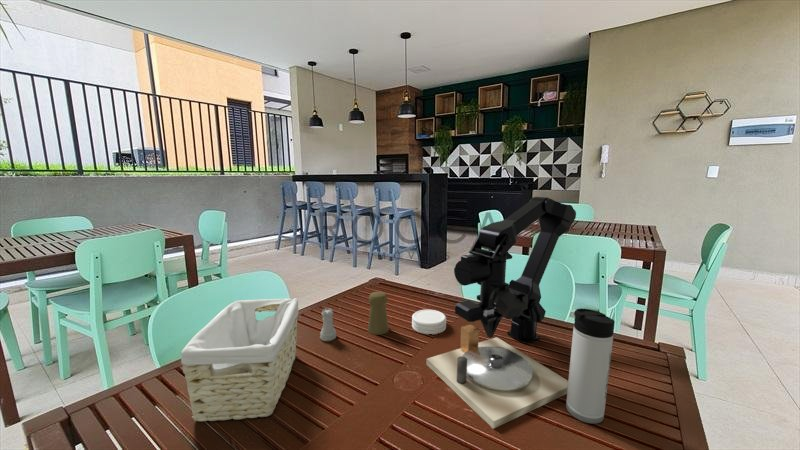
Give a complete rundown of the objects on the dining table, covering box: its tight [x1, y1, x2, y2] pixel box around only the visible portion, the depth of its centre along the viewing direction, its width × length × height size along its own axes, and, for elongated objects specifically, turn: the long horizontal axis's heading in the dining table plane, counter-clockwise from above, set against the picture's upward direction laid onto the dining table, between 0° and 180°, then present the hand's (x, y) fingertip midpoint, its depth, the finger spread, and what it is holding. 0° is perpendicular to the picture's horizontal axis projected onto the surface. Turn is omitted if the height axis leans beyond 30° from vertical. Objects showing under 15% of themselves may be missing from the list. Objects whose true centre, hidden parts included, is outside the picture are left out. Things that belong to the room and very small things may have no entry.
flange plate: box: [459, 324, 533, 392], centre depth 73 cm, size 18×15×6 cm
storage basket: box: [180, 297, 300, 422], centre depth 69 cm, size 24×16×15 cm
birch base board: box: [426, 336, 569, 430], centre depth 72 cm, size 22×22×6 cm
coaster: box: [411, 309, 447, 335], centre depth 96 cm, size 10×10×4 cm
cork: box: [367, 291, 390, 336], centre depth 93 cm, size 6×6×11 cm
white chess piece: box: [319, 307, 337, 342], centre depth 89 cm, size 4×4×8 cm
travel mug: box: [565, 308, 616, 425], centre depth 60 cm, size 6×7×20 cm
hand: (489, 337), depth 83 cm, fingers closed
